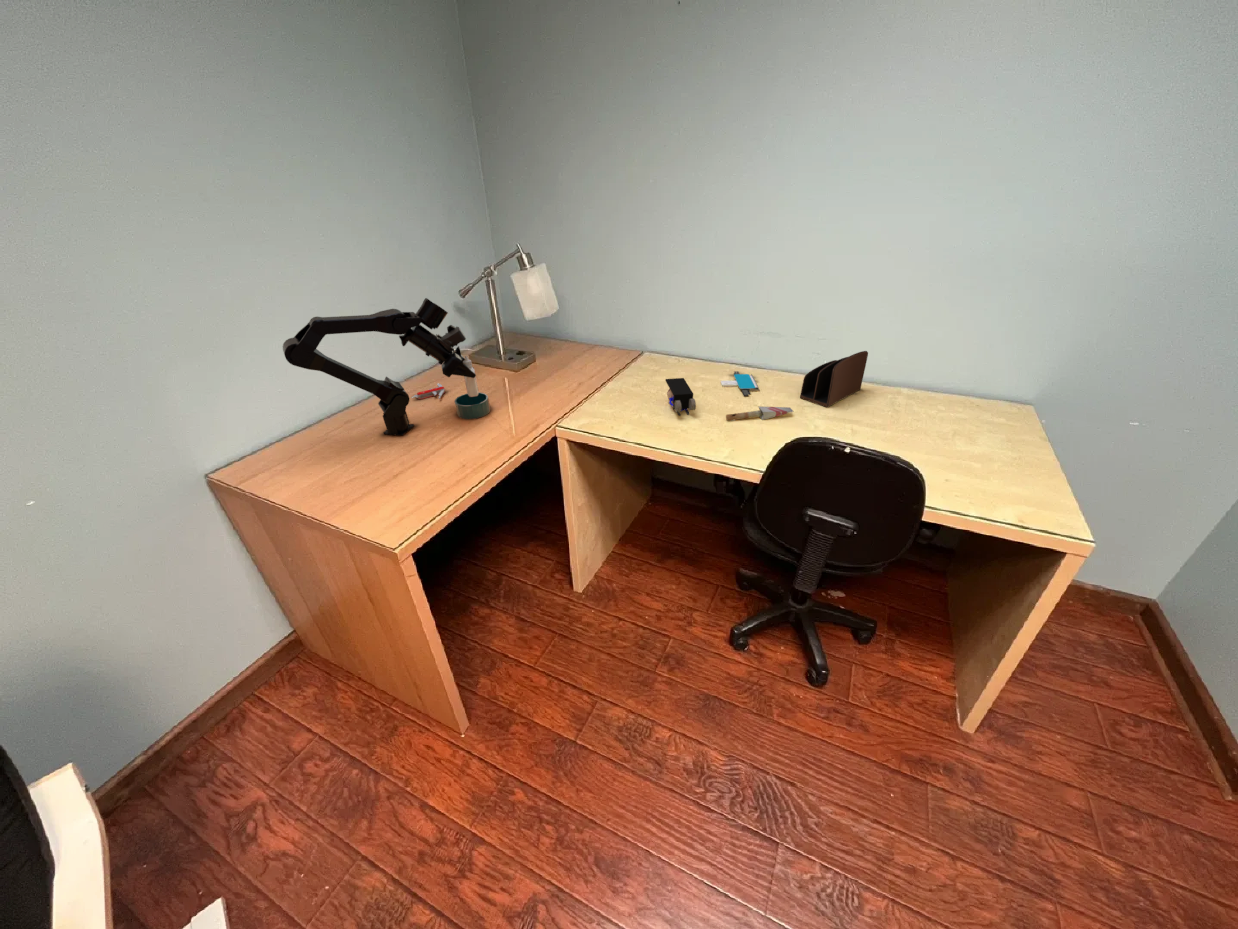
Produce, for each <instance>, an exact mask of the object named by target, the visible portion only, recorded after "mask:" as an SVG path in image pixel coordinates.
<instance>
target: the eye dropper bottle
mask: <svg viewBox="0 0 1238 929" xmlns="http://www.w3.org/2000/svg"><path fill="white" fill-rule="evenodd" d="M464 358H465V360H464V361H463V363H464V364H465V365H466V366H467V367H468V368H469V369H470V370H471V371H473V372H474V373H475V374H476V370H475V367H473V362H472V360H471V359H469V357H468V355H465V356H464ZM463 378H464V383H465V387H466V393H467V394H468V396H470V397H475V396H478V394H479V392H480V391H479V387H478V386H479V385H478V379H477V375H476V376H475V378H471V377H466V376H463Z"/></svg>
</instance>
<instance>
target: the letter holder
mask: <svg viewBox="0 0 1238 929" xmlns="http://www.w3.org/2000/svg"><path fill="white" fill-rule="evenodd" d="M868 357H869V352H868V351H867V350H862V351H858V352H855V353H853V354H851V355H849V356H845V357H843V358H842V357H841V358H839V359H835V360H830V361H828V362H825V363H823V364H820V365H818V366H817V367H815V368H813V369H812V370H810V371H809V372H807V373H806V374H805V375H804V376H803V380H802V381H803V382H802V385H801V390H800V394H799V398H800V399H801V400H802V399H803V400H805V401H808V402H810V403H813V404H816V405H819V406H821V407H825V408H829V407H831V406H832V405H834V404H837V403H838V402H841V400H844V399H846V398H847V397H850V396H851V395H853V394H854V393H857V392H859V391H860V390H861V388H862V385H863V379H864V375H865V372H866V371H865V370H866V366H867V361H868Z"/></svg>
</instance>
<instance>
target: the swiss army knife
mask: <svg viewBox="0 0 1238 929" xmlns="http://www.w3.org/2000/svg"><path fill="white" fill-rule="evenodd" d="M436 385H437V386H436V387H435V388H429V389H426V390H422V391H419V392H417V393H416V394H414V395H413V396H411V398H410V399H414V398H416V399H418V400H424V399H427V398H431V397H435V396H438V400H440V399H441V397H442V395H443V394H445V393H446V389H445V387H444V386H443V385H442V384H441V383H439V382H437V384H436Z"/></svg>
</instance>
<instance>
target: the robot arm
mask: <svg viewBox="0 0 1238 929" xmlns="http://www.w3.org/2000/svg"><path fill="white" fill-rule="evenodd" d="M448 314H449V311H446V310H445V309H444V308H443V307H441V306H440V305H439V304H437V303H435V302H433V301H432V300H430V299H429V298H428V297H425V298H424V300H423V301H422V304H421V305H420V307H419V308H418V310H417V311H416V313H415V312H414V311H401V310H399V309H397V308H390V309H385V310H380V311H378V312H375V313H371V314H363V315H362V314H361V315H359V314H358V315H341V316H339V315H338V316H313V317H312V318H310V320H309V321H308V322H307V323H306V324H305V325H304V326H303V327H302V328H301V329H300V330H299V331H298V332H297V333H296V334H295V335H294V336H293V337H290V338H287V339H286V340H285V341H284V342H283V344H282V352H283V355H284V358H285V360H286V361H287V363H289V364H290V365H292V366H294V367H298V368H301V369H305V370H311V371H317V372H322V373H324V374H326V375H329V376H331V377H332V378H333V377H334V378H336V379H338V380H340V381H343V382H344V383H347V384H349V385H350V386H351V385H352V386H354V387H356V388H359V389H361V390H362V391H366V392H368V393H370V394H372V395H374V396H375V397H376V398H378V399H379V401H378V403H377V404H378V406H379V407H380V409H381V411H382V419H383V422H384V425H385V429H386V430H385V431H383V435H387V436H397V437H398V436H400V437H402V436H403V437H404V436H405V435H406V434H407V433H408V432H409V431H411V429H414V427H415V424H414V423H410V420H409V417H408V414H407V410H406V409H407V406H408V405H409V403H410V396H409V394H408V392H407V391H406V390H405V388H404V387H403V385H402V384H401V383H400V382H399V381H395V380H392V379H391V378H389V377H388V376H385V377H384V380H382V379H376V378H374V377H373V376H370V375H368V374H366V373H363V372H362V371H359V370H357V369H355V368H353V367H351V366H349V365H347V364H344V363H342V362H340V361H337V360H336V359H333V358H331V357H328V356H327V355H325V354H324V353H323V352H321V351H320V350H318V349H317V348H318V347H319V345H320V343H321V342H322V340H323V339H324V337H325V336H327V335H338V334H340V335H341V334H354V333H366V332H367V333H368V332H370V333H371V332H377V333H383V334H388V335H398V338H399V339H400V344H401V346H402V347H405V346H407V344H408V342H409V343H410V344H412V345H413V346H415V347H416V348H418V349H419V350H420V351H423V352H424V353H425V356H427V357H432V358H433V359H435V360H436V361H437V363H438V364H439V365H440V366H441V371H442V374H443V375H444V376H446V377H447V378H450V377H451V376H460V377H464V376H466V377H471V378H475V376H476V377H477V374H476V372H475V373H474V372H473V371H471V370H470V369H469V368H468V367H467V366H466V365H465V364H464V363H463V361H464V360H465V356H463V355H462V353H461V348H460V346H459V344H460V343H464V342H465V341H466V339H467V338H466V335H465V334H464V332H463V331H462V329H461V328H460V326H454V325H453V324H450V325H448V326H447V327H446V329H447V332H445V334H444V335H441V334H439V333H438V334H437V333H436V334H434V333H433V332H431V331H432V330H436V329H438V328H439V327H440V326H441V324H442V322H443V321H444V319H445V318H446V317H447V316H448ZM423 325H424V326H425V327H426V328H425V327H424V326H423ZM427 328H428V329H427ZM430 330H431V331H430ZM454 347H456V348H454Z"/></svg>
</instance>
